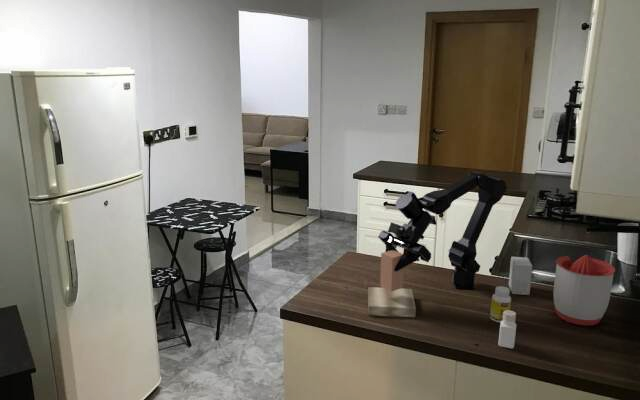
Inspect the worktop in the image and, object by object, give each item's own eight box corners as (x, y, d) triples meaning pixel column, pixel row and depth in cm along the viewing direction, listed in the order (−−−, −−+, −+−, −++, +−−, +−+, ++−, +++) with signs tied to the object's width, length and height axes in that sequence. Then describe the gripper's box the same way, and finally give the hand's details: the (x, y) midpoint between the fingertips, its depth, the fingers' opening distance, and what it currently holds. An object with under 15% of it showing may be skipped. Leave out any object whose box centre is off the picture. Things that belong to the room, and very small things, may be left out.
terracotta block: (391, 282, 164) (393, 249, 162) (403, 287, 160) (404, 254, 158) (380, 286, 162) (381, 253, 159) (391, 291, 158) (392, 257, 155)
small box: (529, 295, 171) (533, 265, 168) (511, 294, 172) (514, 264, 169) (525, 286, 178) (528, 257, 176) (508, 284, 179) (511, 256, 177)
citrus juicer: (594, 305, 164) (603, 246, 159) (615, 332, 147) (625, 266, 142) (542, 301, 166) (549, 242, 161) (556, 327, 150) (565, 262, 145)
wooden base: (410, 297, 169) (411, 288, 168) (415, 317, 155) (415, 308, 155) (368, 295, 170) (368, 287, 169) (368, 315, 156) (368, 306, 156)
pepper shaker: (499, 339, 143) (502, 308, 140) (514, 342, 141) (517, 311, 139) (497, 346, 139) (501, 314, 137) (513, 349, 138) (517, 317, 135)
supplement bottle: (499, 324, 151) (502, 294, 149) (485, 317, 156) (488, 287, 153) (512, 321, 153) (516, 290, 151) (499, 313, 158) (502, 283, 156)
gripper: (383, 206, 165) (355, 245, 161) (426, 220, 150) (397, 263, 147) (400, 225, 171) (374, 264, 168) (443, 240, 156) (415, 283, 153)
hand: (389, 268), depth 159 cm, fingers closed on terracotta block, 5 cm apart
